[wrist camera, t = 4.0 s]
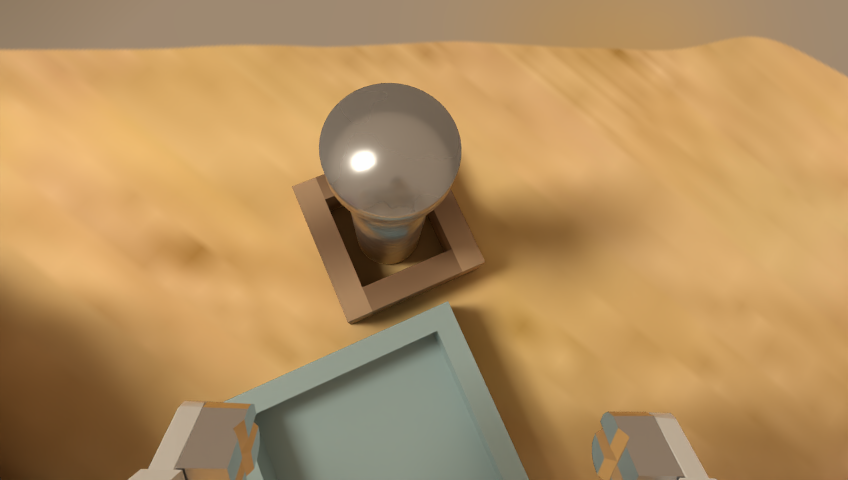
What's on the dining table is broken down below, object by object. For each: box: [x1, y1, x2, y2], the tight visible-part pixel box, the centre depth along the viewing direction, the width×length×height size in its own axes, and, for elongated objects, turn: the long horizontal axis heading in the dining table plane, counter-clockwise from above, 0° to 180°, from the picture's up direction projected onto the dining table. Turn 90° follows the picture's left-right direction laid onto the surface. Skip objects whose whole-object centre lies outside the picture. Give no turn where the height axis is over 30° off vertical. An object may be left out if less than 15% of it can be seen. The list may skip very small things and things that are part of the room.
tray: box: [224, 301, 529, 480], centre depth 21 cm, size 11×11×2 cm
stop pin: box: [319, 83, 461, 264], centre depth 20 cm, size 4×4×11 cm
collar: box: [292, 174, 485, 324], centre depth 24 cm, size 7×7×2 cm
